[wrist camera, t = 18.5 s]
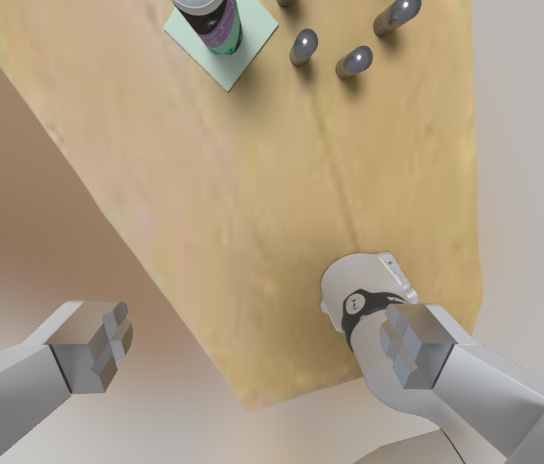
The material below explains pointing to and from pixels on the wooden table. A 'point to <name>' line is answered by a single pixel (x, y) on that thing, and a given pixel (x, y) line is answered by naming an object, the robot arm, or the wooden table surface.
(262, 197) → the wooden table surface
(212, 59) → the mat
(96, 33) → the wooden table surface
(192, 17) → the spray can
